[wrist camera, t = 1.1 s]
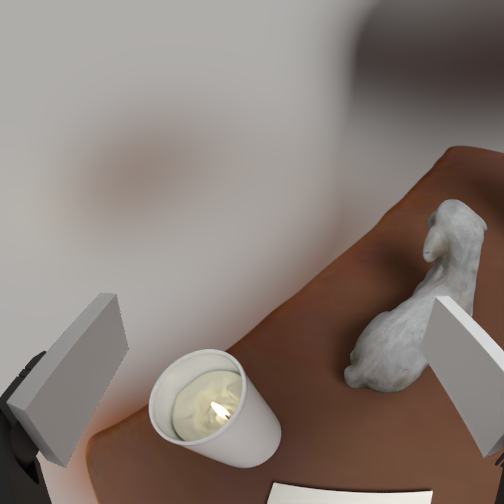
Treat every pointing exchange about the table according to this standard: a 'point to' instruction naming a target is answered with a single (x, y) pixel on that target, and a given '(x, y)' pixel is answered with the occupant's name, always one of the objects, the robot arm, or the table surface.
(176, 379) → the candle holder
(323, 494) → the tile
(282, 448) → the table surface
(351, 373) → the sculpture
